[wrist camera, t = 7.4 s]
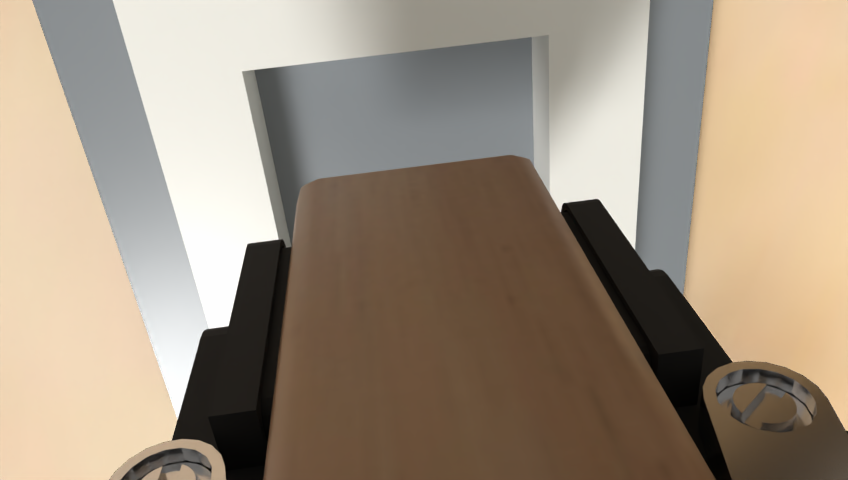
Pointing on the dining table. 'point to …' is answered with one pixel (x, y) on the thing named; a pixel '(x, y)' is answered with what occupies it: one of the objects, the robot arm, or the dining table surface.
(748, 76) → the dining table surface
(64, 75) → the baseplate
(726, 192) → the dining table surface
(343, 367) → the wooden block
